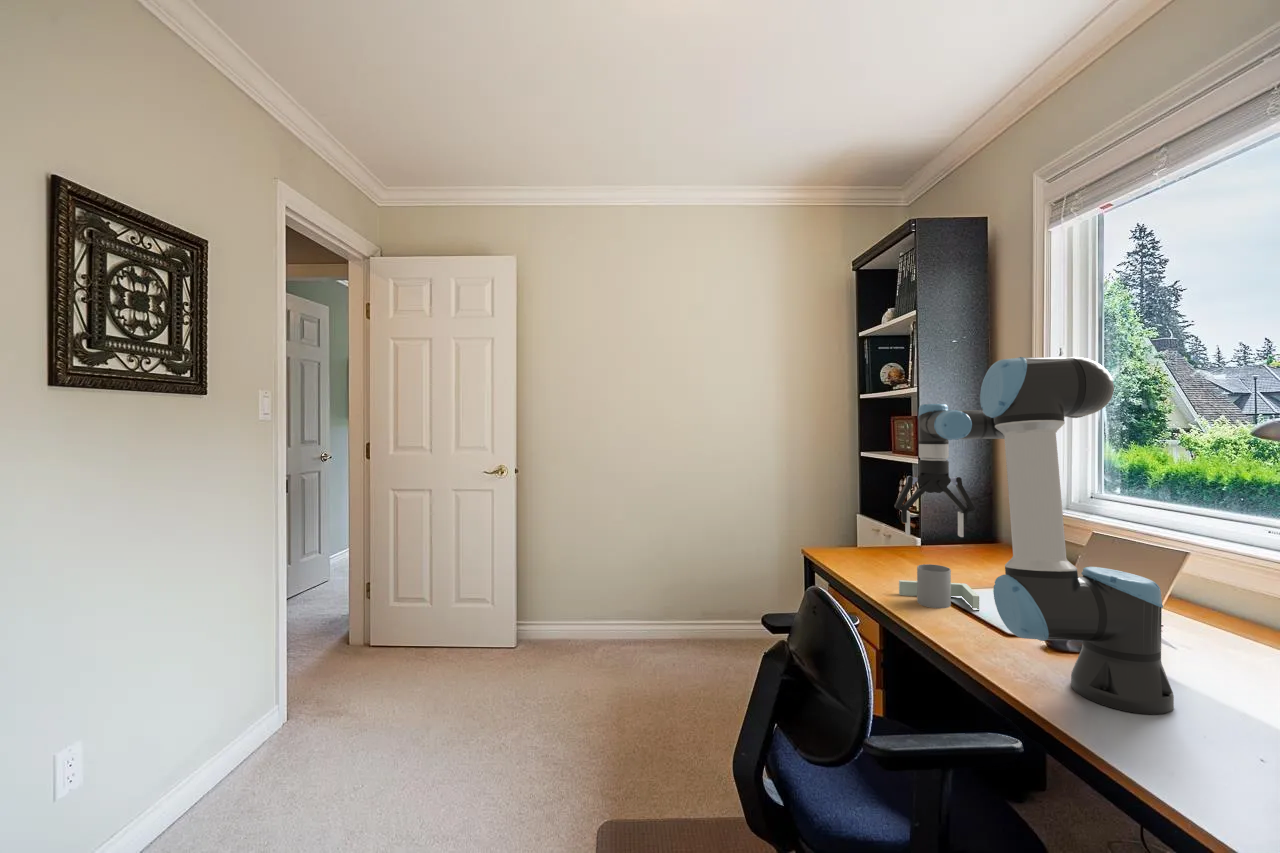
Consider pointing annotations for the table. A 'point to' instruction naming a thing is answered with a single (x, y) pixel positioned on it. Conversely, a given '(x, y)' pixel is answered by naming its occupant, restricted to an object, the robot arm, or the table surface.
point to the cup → (934, 586)
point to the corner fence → (956, 590)
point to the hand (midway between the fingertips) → (933, 535)
